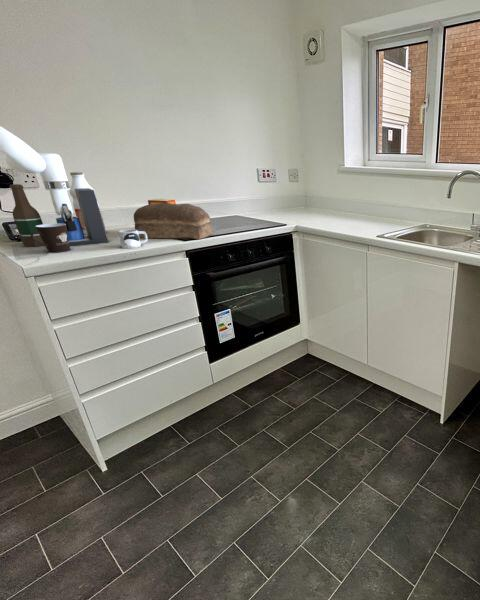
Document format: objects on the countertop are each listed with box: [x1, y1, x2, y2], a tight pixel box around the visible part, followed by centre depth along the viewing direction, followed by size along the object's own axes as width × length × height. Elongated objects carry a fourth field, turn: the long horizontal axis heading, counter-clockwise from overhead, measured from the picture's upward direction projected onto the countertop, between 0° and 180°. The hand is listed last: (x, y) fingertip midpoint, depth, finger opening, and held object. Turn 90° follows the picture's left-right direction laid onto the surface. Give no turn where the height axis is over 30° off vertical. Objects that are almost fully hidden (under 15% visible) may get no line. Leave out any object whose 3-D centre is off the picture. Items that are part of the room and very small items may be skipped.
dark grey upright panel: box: [69, 188, 109, 247], centre depth 148 cm, size 16×12×22 cm
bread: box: [133, 203, 214, 240], centre depth 167 cm, size 15×32×16 cm, turn 93°
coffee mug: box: [31, 222, 71, 254], centre depth 135 cm, size 12×9×10 cm
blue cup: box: [55, 216, 85, 241], centre depth 148 cm, size 7×7×9 cm
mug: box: [117, 228, 149, 249], centre depth 148 cm, size 10×7×7 cm
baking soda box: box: [147, 198, 177, 205], centre depth 179 cm, size 10×6×16 cm
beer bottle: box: [9, 183, 46, 248], centre depth 141 cm, size 8×8×24 cm
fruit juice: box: [68, 171, 107, 236], centre depth 165 cm, size 9×9×28 cm
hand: (70, 229), depth 148 cm, fingers closed on blue cup, 7 cm apart
